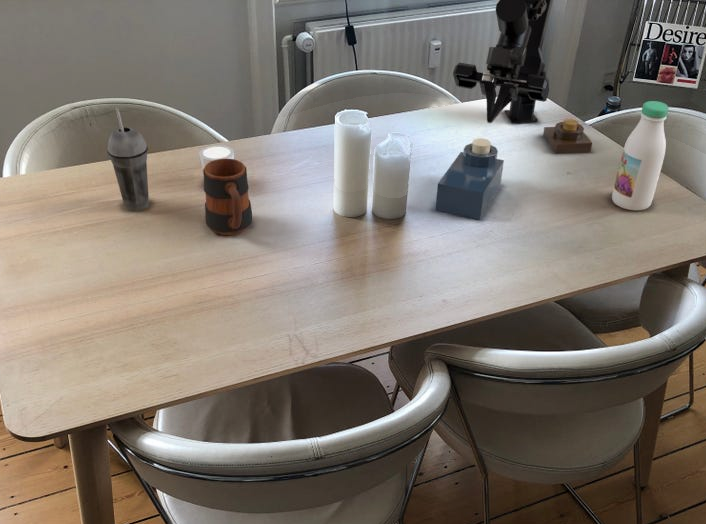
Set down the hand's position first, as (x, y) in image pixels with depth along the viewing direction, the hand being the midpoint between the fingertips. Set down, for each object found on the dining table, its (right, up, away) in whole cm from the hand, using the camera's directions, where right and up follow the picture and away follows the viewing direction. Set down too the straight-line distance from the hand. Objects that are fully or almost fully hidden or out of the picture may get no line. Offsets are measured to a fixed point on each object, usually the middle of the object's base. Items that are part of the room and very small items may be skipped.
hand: (489, 122), depth 165 cm
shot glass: (-54, -12, +3) cm, 55 cm away
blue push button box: (-4, -15, +1) cm, 15 cm away
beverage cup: (-69, -17, -4) cm, 71 cm away
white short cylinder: (-2, -6, 0) cm, 6 cm away
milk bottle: (+28, -16, +1) cm, 33 cm away
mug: (-50, -23, -10) cm, 56 cm away
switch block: (+21, +1, +21) cm, 29 cm away
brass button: (+21, +4, +18) cm, 28 cm away
